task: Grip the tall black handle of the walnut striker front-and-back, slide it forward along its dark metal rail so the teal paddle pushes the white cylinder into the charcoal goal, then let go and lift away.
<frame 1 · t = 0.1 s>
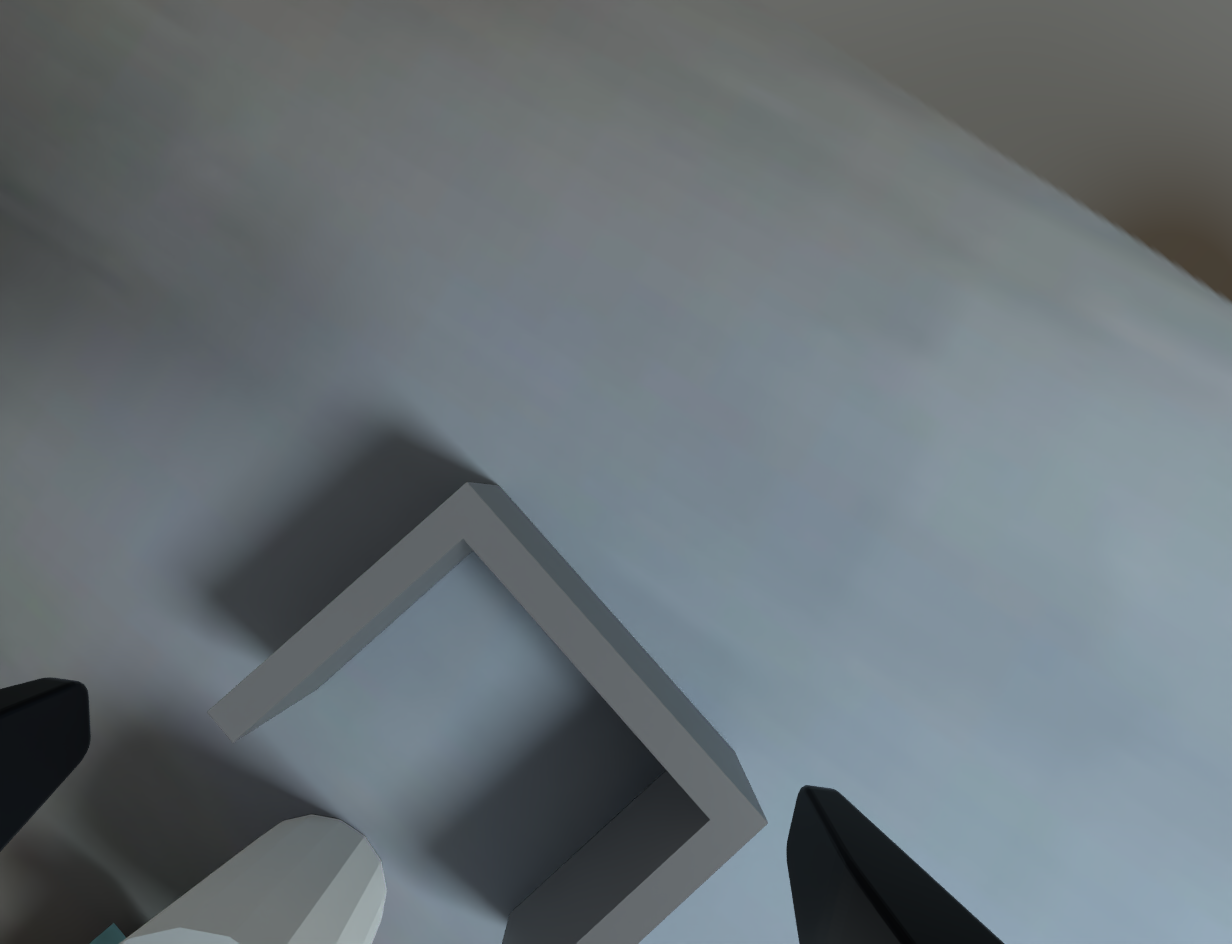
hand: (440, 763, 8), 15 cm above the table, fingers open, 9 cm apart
white cylinder: (314, 888, 23), on the table
goal: (502, 719, 23), on the table
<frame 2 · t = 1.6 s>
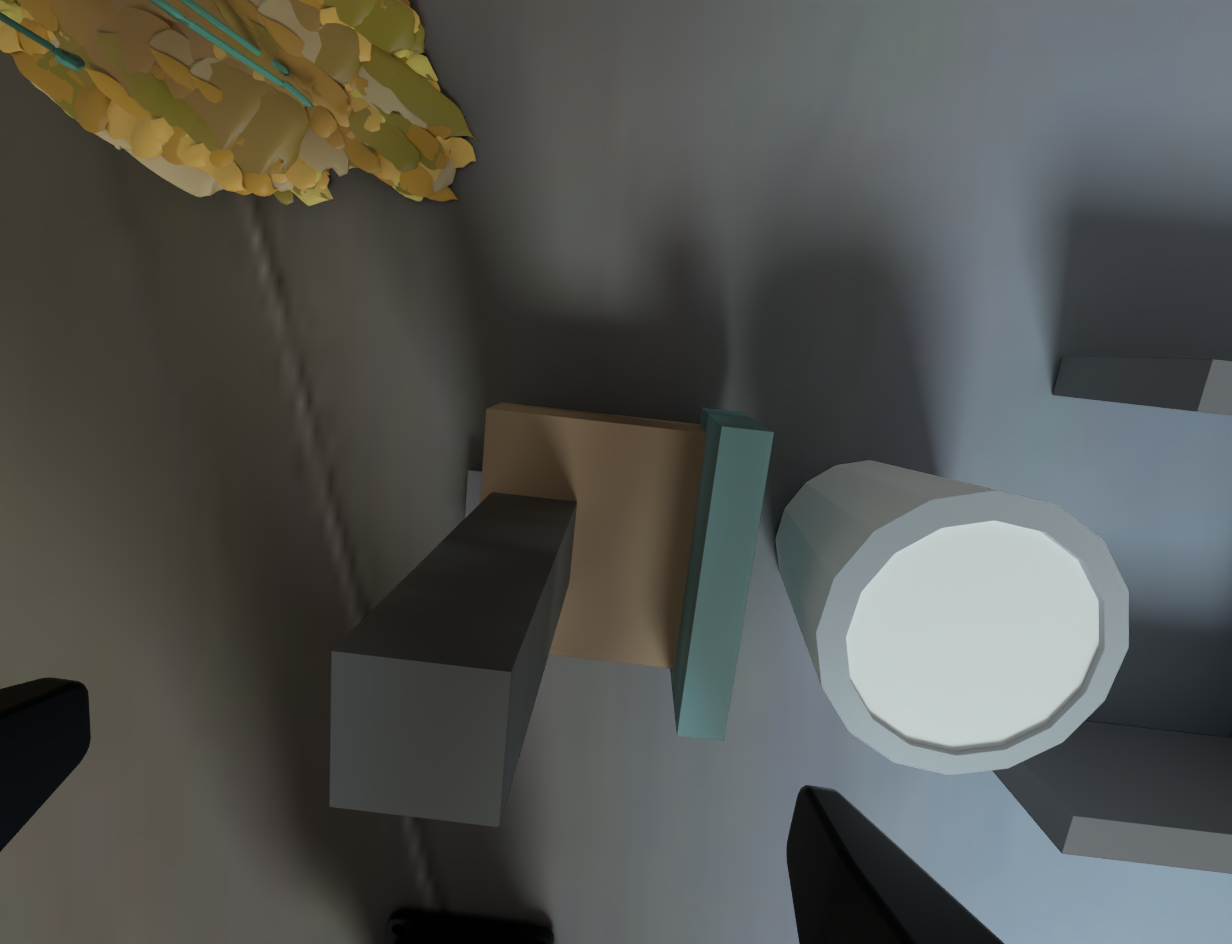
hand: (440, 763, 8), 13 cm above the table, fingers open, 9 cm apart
white cylinder: (857, 540, 20), on the table
rail: (607, 514, 20), on the table
goal: (1146, 575, 20), on the table
gold and teal figure: (211, 11, 18), on the table
striker: (596, 596, 14), point 7 cm above the table, slide at 0.0 cm
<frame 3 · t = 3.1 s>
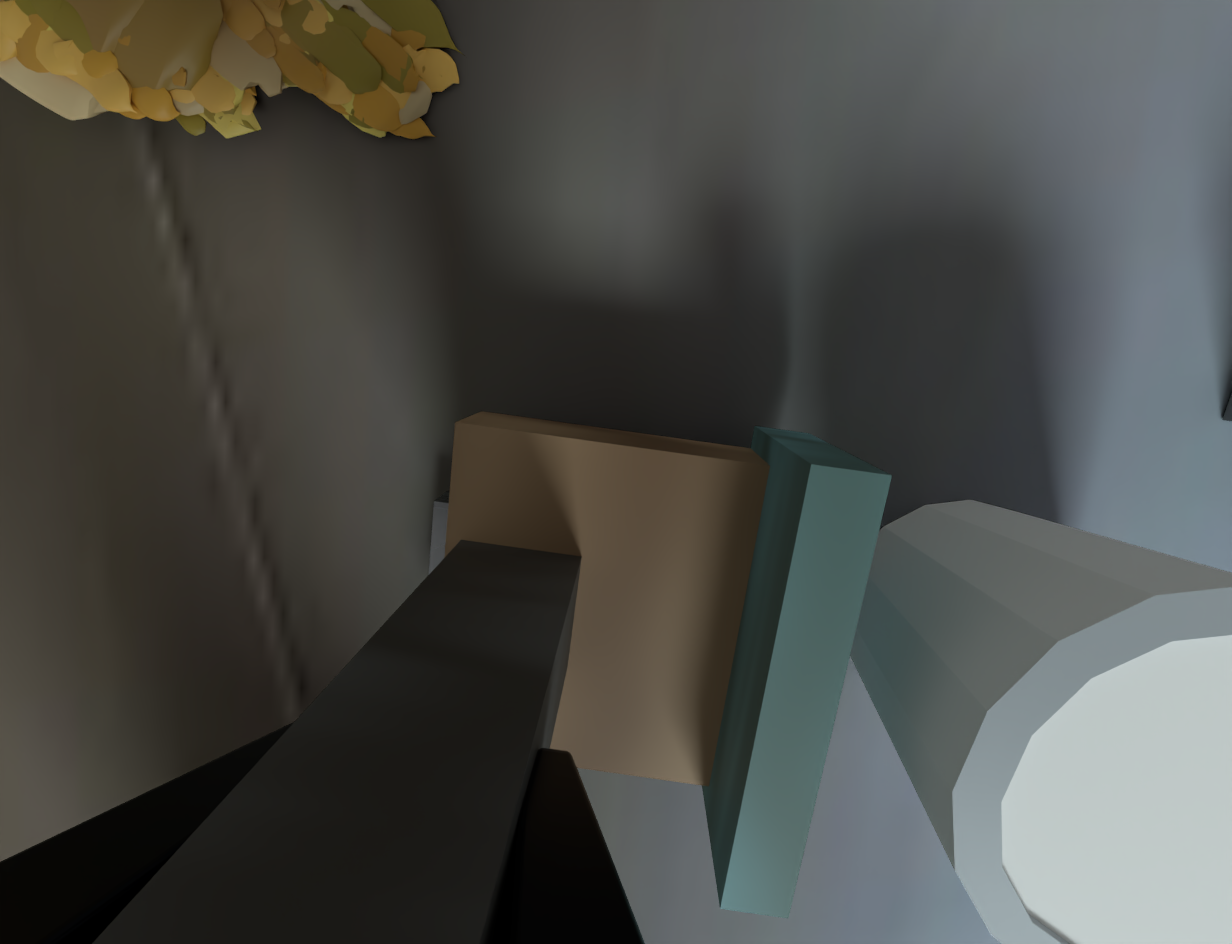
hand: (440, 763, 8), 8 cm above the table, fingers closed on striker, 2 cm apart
white cylinder: (946, 603, 16), on the table
rail: (618, 561, 15), on the table
striker: (611, 726, 9), point 7 cm above the table, slide at 0.0 cm, touching gripper
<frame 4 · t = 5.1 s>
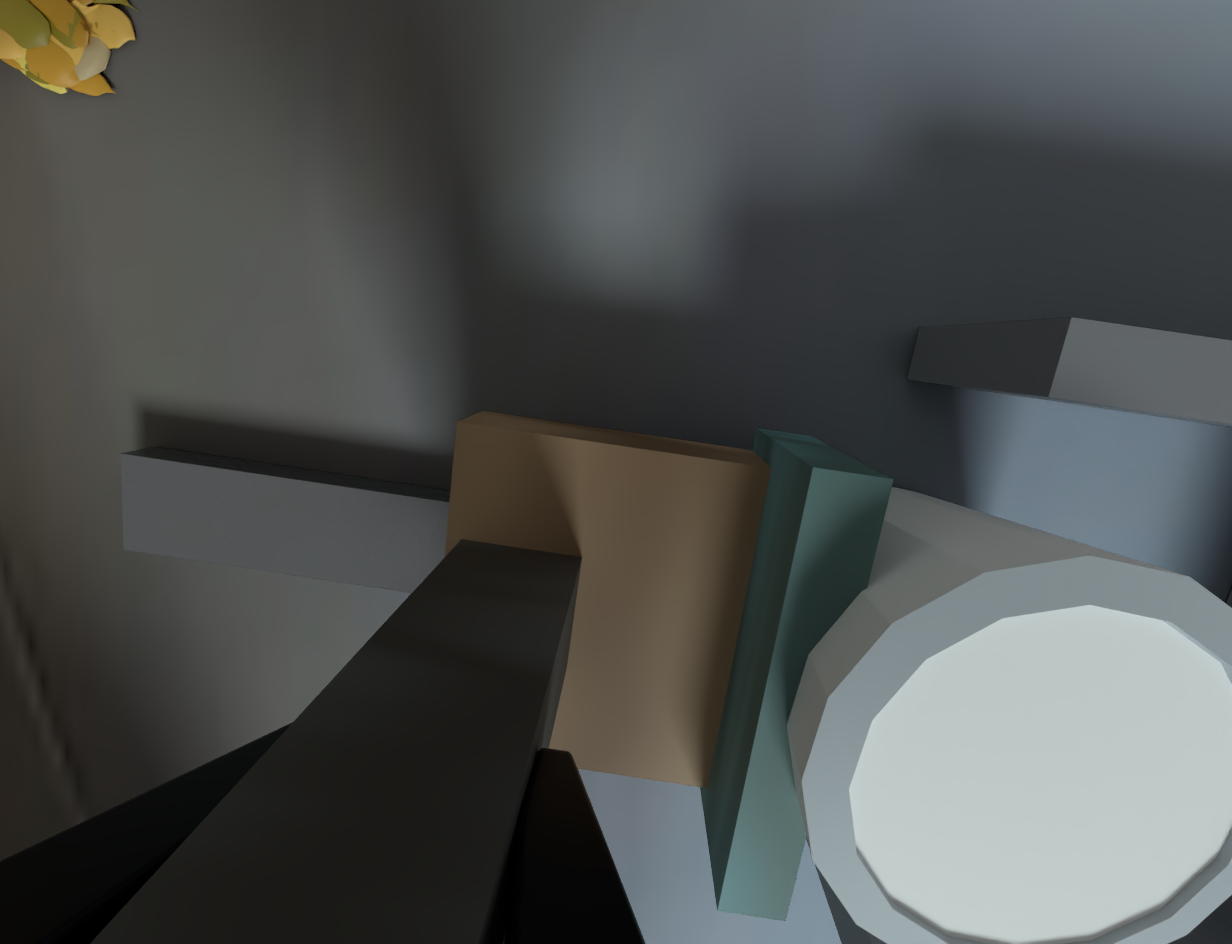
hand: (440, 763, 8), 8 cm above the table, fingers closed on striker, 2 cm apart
white cylinder: (859, 588, 15), on the table, touching striker
rail: (328, 518, 15), on the table
goal: (1031, 622, 15), on the table
striker: (610, 727, 9), point 7 cm above the table, slide at 7.5 cm, touching gripper, white cylinder
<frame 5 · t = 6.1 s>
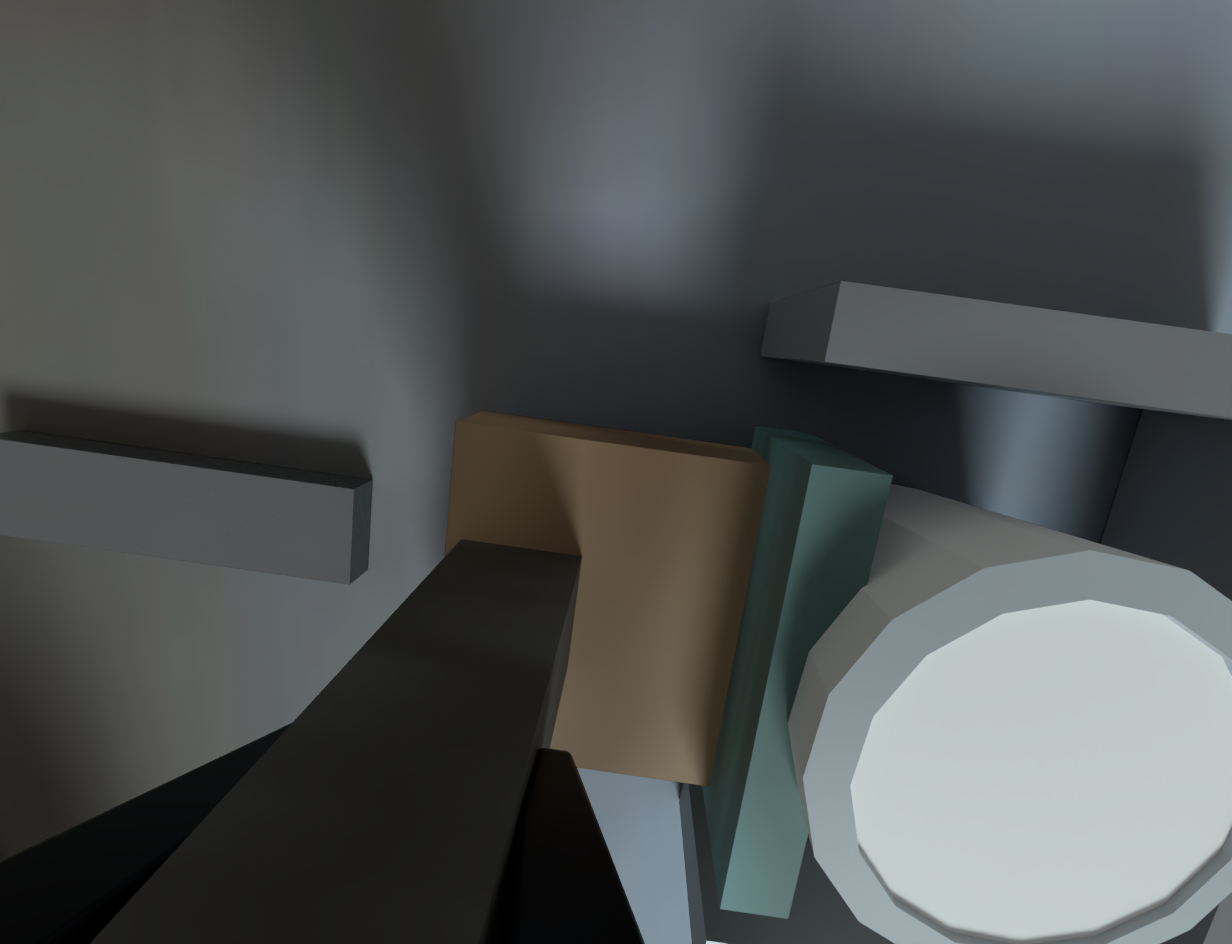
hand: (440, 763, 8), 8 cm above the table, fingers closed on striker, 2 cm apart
white cylinder: (860, 586, 15), on the table, touching striker
rail: (195, 500, 15), on the table
goal: (897, 600, 15), on the table
striker: (611, 726, 9), point 7 cm above the table, slide at 10.9 cm, touching gripper, white cylinder
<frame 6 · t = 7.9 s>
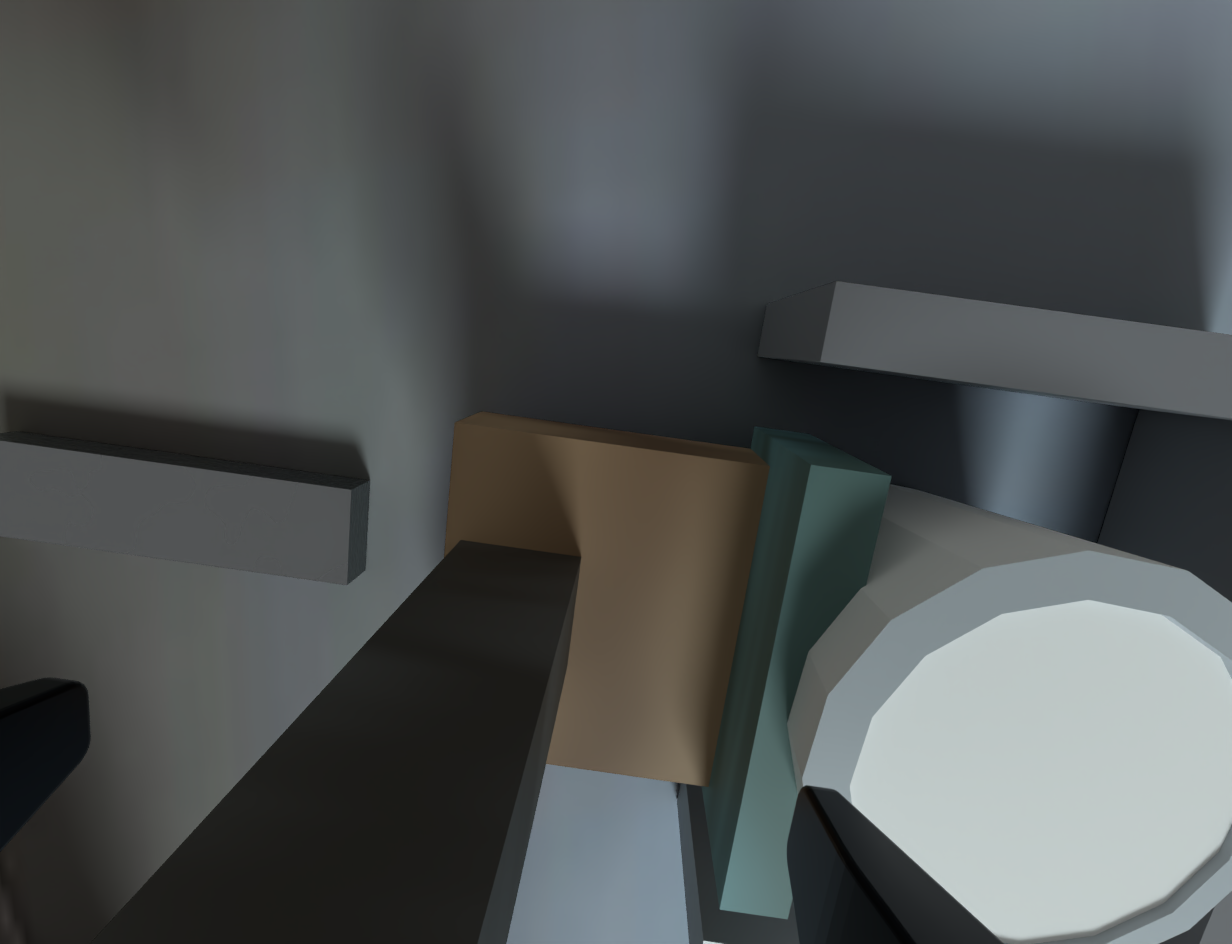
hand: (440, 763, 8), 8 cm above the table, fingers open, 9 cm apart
white cylinder: (859, 586, 15), on the table, touching striker
rail: (193, 501, 15), on the table
goal: (894, 600, 15), on the table
striker: (611, 726, 9), point 7 cm above the table, slide at 11.0 cm, touching white cylinder
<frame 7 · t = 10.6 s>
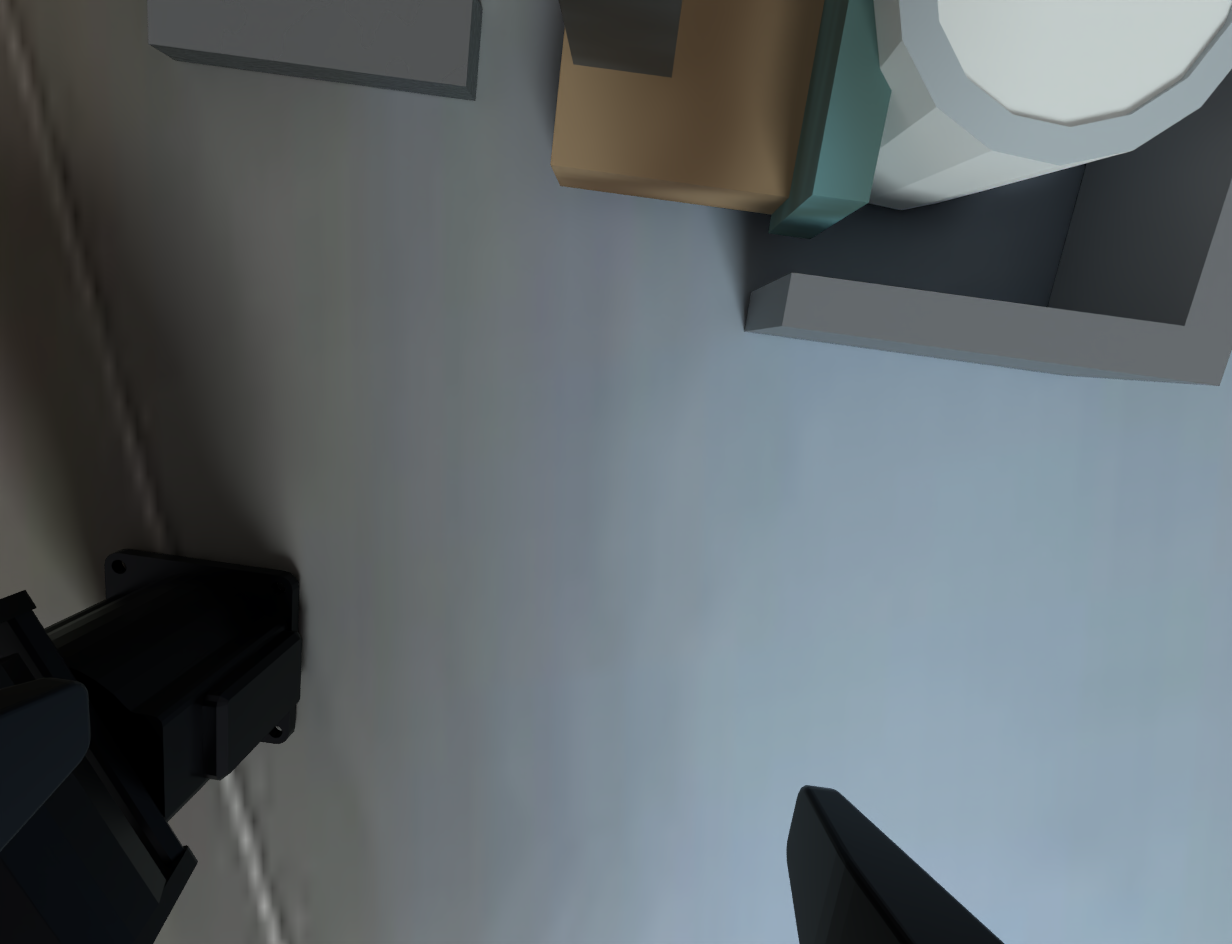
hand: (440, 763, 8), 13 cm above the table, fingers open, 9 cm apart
white cylinder: (908, 108, 18), on the table, touching striker
rail: (326, 35, 18), on the table
goal: (939, 117, 18), on the table
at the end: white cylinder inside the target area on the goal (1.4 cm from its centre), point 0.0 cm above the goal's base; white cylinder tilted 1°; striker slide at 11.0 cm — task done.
